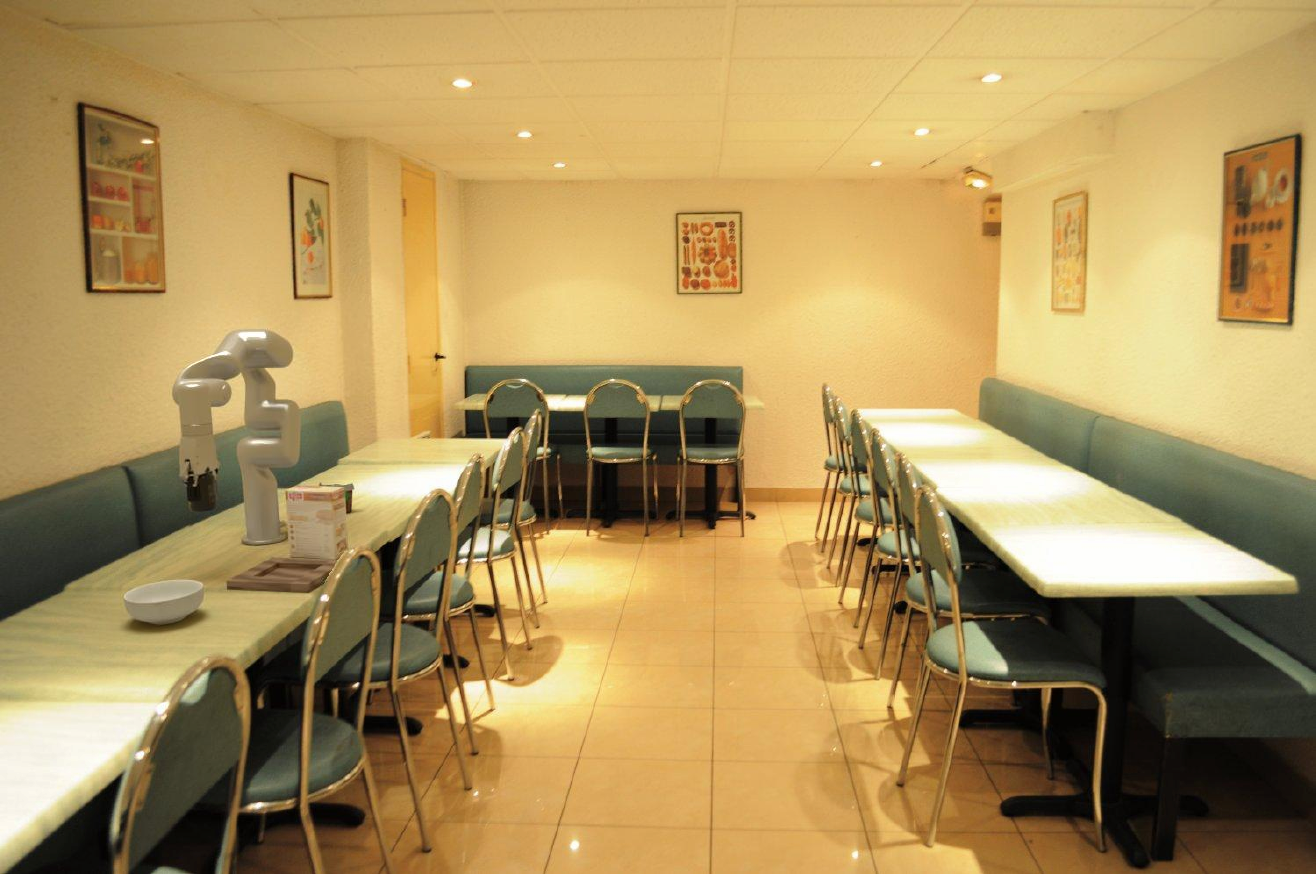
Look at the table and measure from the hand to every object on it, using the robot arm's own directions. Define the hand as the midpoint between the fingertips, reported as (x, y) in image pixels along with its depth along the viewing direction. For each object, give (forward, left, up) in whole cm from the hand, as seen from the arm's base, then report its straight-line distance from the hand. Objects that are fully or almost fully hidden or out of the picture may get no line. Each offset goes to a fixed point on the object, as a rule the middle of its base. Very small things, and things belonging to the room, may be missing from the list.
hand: (202, 497), depth 269 cm
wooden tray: (-2, +22, -22) cm, 31 cm away
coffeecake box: (-24, +19, -22) cm, 37 cm away
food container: (-73, -1, -22) cm, 76 cm away
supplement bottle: (0, 0, -3) cm, 3 cm away
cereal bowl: (+32, +10, -22) cm, 40 cm away
